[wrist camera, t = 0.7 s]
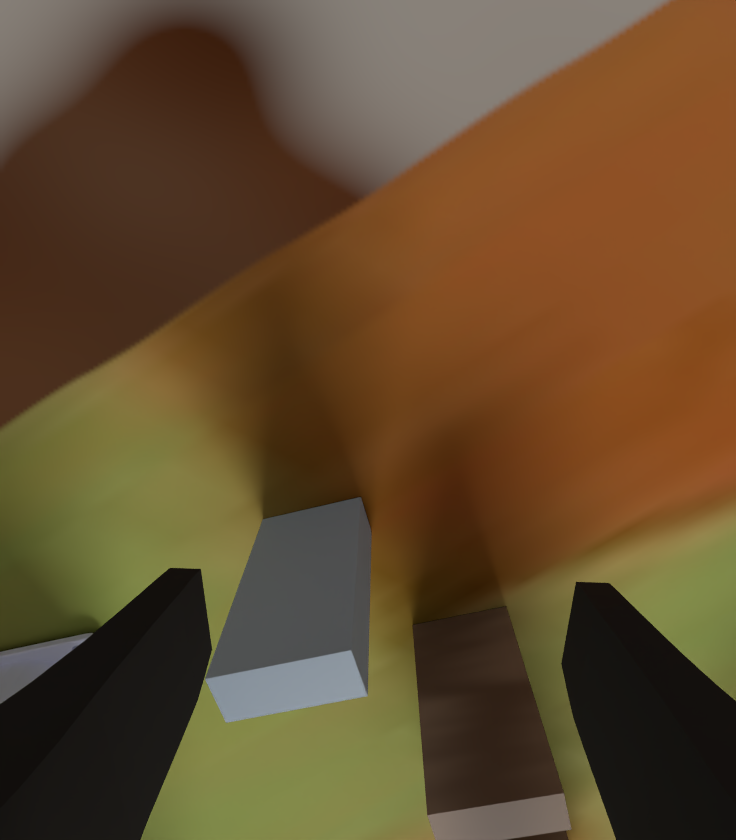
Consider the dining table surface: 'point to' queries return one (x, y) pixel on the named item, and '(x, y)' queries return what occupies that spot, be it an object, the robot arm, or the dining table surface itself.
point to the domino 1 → (298, 616)
